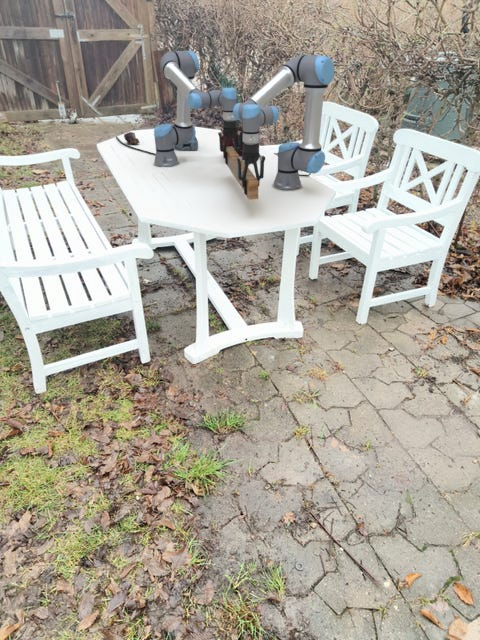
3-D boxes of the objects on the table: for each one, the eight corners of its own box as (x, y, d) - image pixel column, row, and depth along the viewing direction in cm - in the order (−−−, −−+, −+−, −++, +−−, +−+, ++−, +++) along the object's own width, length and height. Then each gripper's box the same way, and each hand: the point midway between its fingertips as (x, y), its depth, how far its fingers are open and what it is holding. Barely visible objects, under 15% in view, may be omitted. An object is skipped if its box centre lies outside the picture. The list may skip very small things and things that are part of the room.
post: (225, 161, 263) (224, 147, 258) (232, 161, 263) (232, 146, 259) (248, 199, 210) (249, 181, 205) (258, 198, 211) (258, 181, 206)
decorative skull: (218, 132, 305) (218, 129, 282) (252, 124, 304) (255, 121, 281) (225, 164, 312) (225, 164, 288) (258, 157, 311) (261, 156, 288)
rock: (136, 143, 345) (123, 144, 341) (134, 131, 342) (121, 132, 338) (140, 143, 336) (127, 145, 332) (139, 131, 332) (125, 132, 328)
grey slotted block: (198, 150, 320) (196, 121, 309) (173, 151, 319) (170, 122, 308) (198, 145, 335) (196, 116, 324) (174, 145, 334) (171, 117, 322)
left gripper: (215, 122, 240) (216, 166, 253) (247, 120, 243) (247, 164, 256) (213, 119, 246) (214, 162, 259) (244, 117, 249) (244, 161, 262)
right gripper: (233, 145, 198) (234, 197, 211) (271, 143, 200) (270, 194, 214) (230, 141, 204) (231, 192, 217) (267, 139, 206) (266, 189, 220)
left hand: (230, 163), depth 258 cm, fingers closed on post, 4 cm apart
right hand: (250, 193), depth 215 cm, fingers closed on post, 4 cm apart
